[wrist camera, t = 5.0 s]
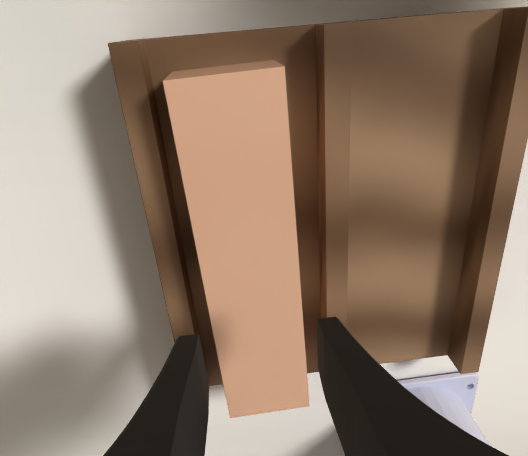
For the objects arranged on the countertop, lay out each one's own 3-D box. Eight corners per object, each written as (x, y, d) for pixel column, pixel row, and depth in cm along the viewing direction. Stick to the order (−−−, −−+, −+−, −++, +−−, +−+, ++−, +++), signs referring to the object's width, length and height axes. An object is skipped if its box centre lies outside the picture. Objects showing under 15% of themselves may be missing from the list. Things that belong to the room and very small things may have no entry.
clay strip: (299, 362, 23) (309, 406, 21) (228, 372, 23) (230, 418, 21) (273, 59, 16) (284, 66, 14) (172, 71, 16) (162, 80, 13)
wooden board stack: (451, 335, 26) (478, 371, 23) (193, 368, 25) (189, 410, 22) (504, 8, 18) (555, 4, 15) (125, 40, 17) (107, 43, 14)
